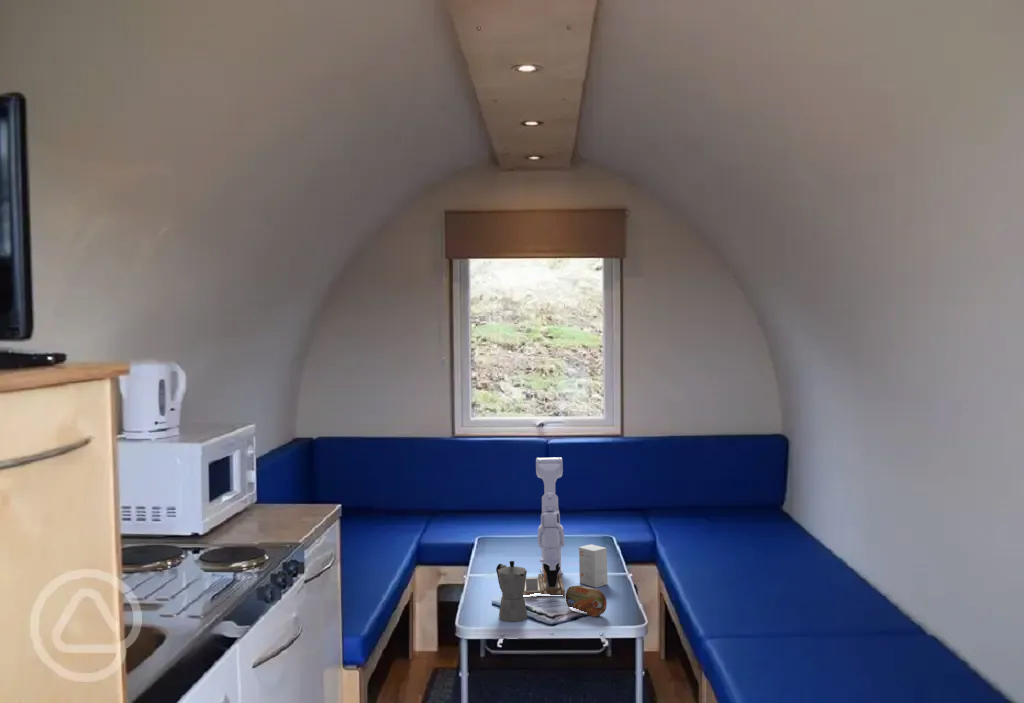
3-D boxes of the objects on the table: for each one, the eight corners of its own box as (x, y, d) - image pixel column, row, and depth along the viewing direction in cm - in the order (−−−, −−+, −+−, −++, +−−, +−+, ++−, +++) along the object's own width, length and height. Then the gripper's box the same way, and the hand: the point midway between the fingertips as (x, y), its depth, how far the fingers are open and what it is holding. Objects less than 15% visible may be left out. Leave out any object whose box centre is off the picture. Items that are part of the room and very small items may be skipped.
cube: (543, 578, 314) (543, 565, 314) (556, 577, 314) (555, 565, 314) (544, 581, 309) (544, 569, 309) (557, 581, 310) (556, 568, 309)
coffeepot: (537, 619, 275) (536, 562, 274) (512, 626, 269) (510, 568, 269) (510, 607, 287) (509, 552, 287) (485, 613, 282) (484, 557, 282)
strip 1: (522, 579, 314) (522, 567, 314) (537, 579, 314) (537, 566, 314) (524, 592, 299) (523, 579, 299) (540, 592, 299) (539, 578, 299)
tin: (565, 609, 284) (564, 584, 283) (571, 607, 286) (570, 581, 286) (602, 619, 274) (601, 592, 273) (608, 617, 276) (608, 590, 276)
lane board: (519, 580, 317) (518, 574, 317) (560, 579, 318) (560, 573, 318) (520, 597, 297) (520, 591, 297) (564, 596, 298) (564, 589, 298)
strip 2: (542, 577, 317) (541, 564, 317) (556, 577, 317) (556, 564, 317) (544, 589, 302) (544, 576, 302) (560, 589, 302) (559, 576, 302)
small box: (608, 584, 310) (607, 547, 310) (595, 588, 306) (594, 551, 306) (591, 579, 317) (591, 543, 316) (579, 583, 313) (578, 546, 312)
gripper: (538, 541, 310) (539, 579, 310) (540, 552, 295) (541, 592, 295) (558, 540, 310) (559, 579, 310) (561, 551, 295) (562, 591, 296)
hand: (551, 585), depth 303 cm, fingers closed on strip 2, 2 cm apart
